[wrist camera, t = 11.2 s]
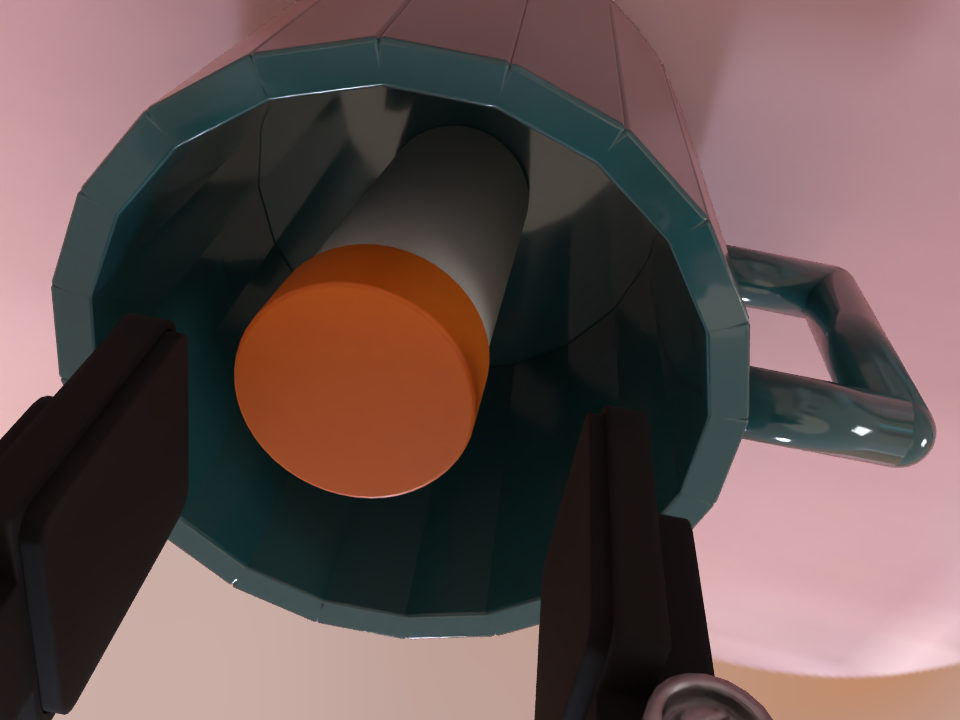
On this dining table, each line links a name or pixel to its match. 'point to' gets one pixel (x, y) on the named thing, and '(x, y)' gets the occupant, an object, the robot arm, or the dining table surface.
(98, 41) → the dining table surface
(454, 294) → the glue stick
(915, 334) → the dining table surface
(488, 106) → the mug
